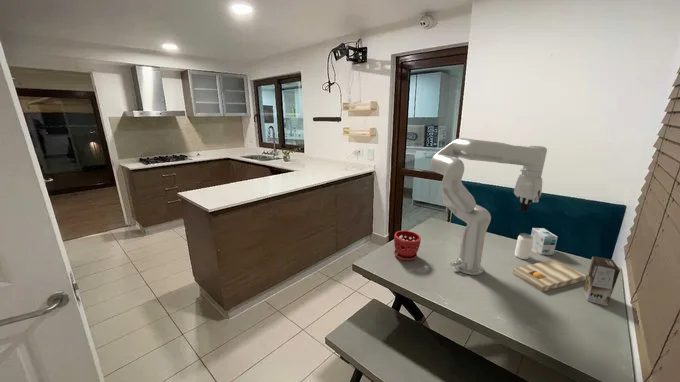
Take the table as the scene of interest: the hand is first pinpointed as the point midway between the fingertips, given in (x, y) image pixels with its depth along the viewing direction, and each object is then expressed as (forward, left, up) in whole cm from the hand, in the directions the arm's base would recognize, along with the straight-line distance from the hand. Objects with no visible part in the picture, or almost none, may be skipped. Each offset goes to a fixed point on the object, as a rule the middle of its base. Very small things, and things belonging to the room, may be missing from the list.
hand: (523, 210), depth 128 cm
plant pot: (-49, +21, -27) cm, 60 cm away
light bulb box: (+24, +4, -27) cm, 37 cm away
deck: (+3, -15, -27) cm, 31 cm away
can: (+8, +2, -27) cm, 29 cm away
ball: (-4, -15, -25) cm, 30 cm away
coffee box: (+7, -31, -27) cm, 42 cm away
